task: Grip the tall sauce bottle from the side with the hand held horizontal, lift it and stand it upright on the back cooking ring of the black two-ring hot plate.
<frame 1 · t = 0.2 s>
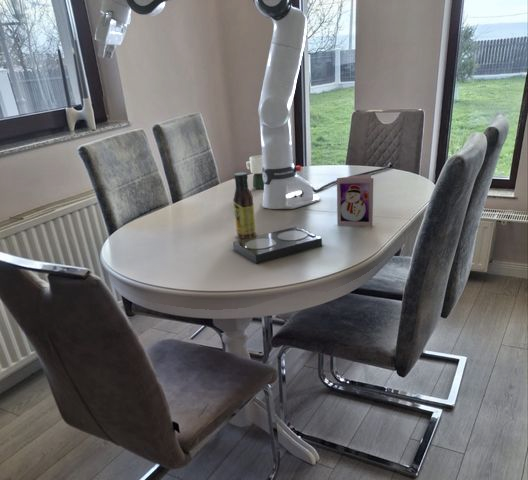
hand: (104, 57, 171), 54 cm above the table, tool tilted 30°, fingers open, 8 cm apart
character mug: (260, 188, 224), on the table
sauce bottle: (246, 237, 164), on the table
greeting card: (356, 224, 167), on the table
hot plate: (277, 248, 152), on the table
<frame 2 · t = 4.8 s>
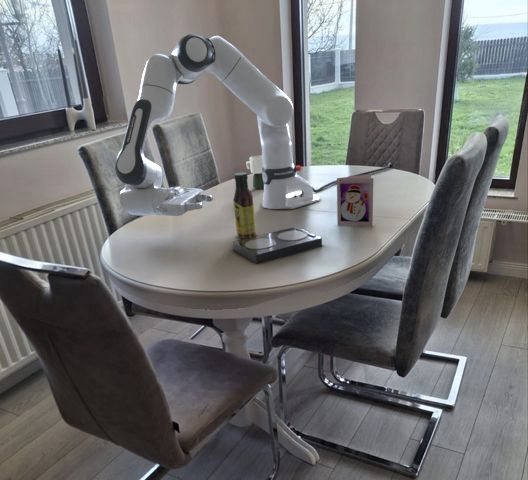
hand: (206, 202, 162), 11 cm above the table, tool horizontal, fingers open, 8 cm apart
nothing on the table moved.
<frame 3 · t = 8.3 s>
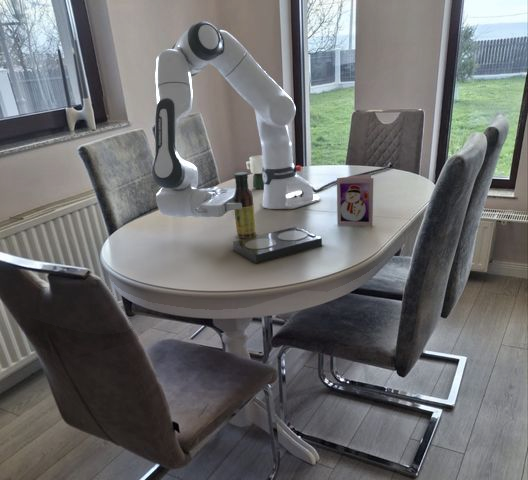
hand: (246, 202, 158), 11 cm above the table, tool horizontal, fingers closed on sauce bottle, 6 cm apart
sauce bottle: (246, 237, 164), on the table, touching gripper
everything else where it was.
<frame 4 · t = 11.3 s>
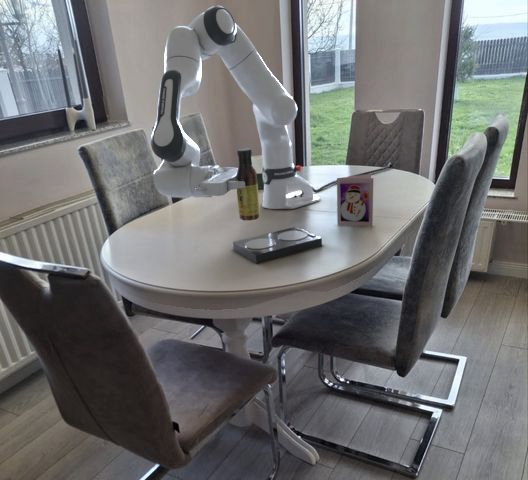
hand: (249, 181, 147), 19 cm above the table, tool horizontal, fingers closed on sauce bottle, 6 cm apart
sauce bottle: (249, 219, 153), point 8 cm above the table, touching gripper
everything else where it was.
when the fingers open (14 cm above the table, at t = 14.5 s): sauce bottle stays where it is, resting on hot plate.
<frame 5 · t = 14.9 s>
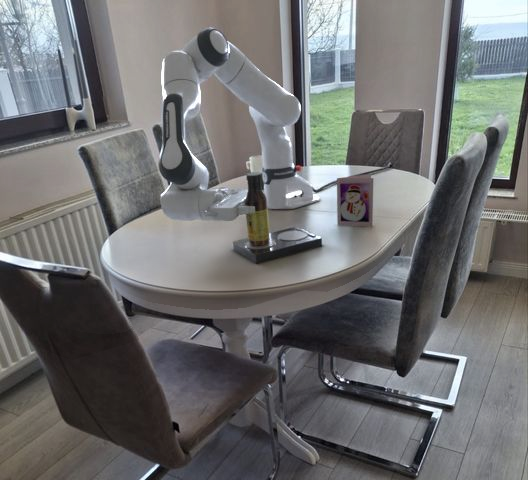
hand: (260, 204, 143), 14 cm above the table, tool horizontal, fingers open, 8 cm apart
sauce bottle: (259, 244, 149), point 3 cm above the table, touching hot plate
everything else where it was.
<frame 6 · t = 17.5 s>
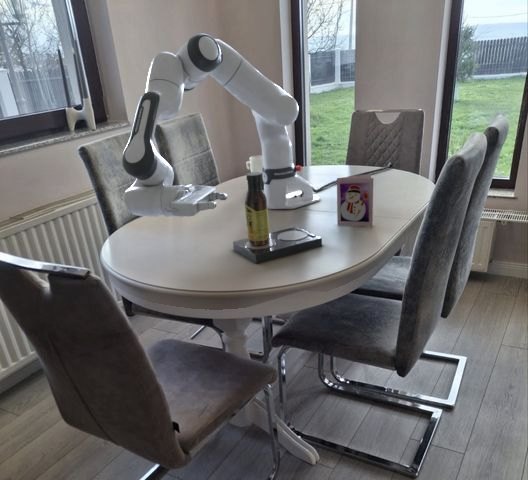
hand: (221, 200, 145), 15 cm above the table, tool horizontal, fingers open, 8 cm apart
nothing on the table moved.
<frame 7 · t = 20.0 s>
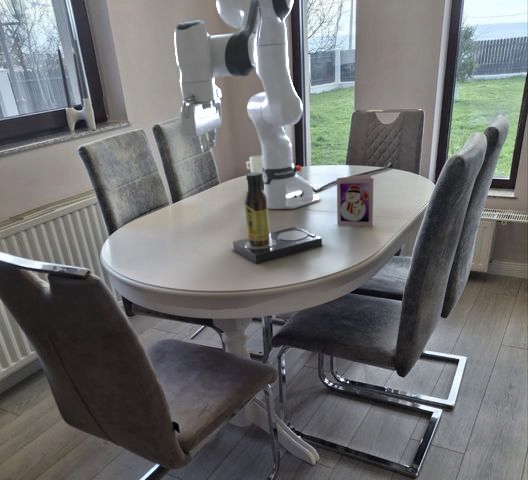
hand: (206, 150, 139), 29 cm above the table, tool pointing down, fingers open, 8 cm apart
nothing on the table moved.
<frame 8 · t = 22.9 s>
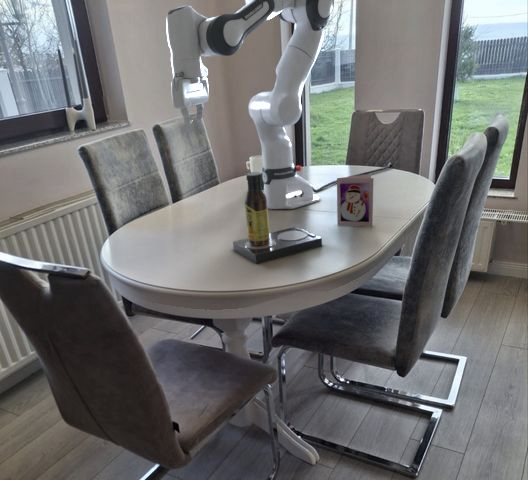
hand: (194, 121, 158), 34 cm above the table, tool pointing down, fingers open, 8 cm apart
nothing on the table moved.
at the end: sauce bottle inside the target area on the hot plate (0.2 cm from its centre), point 2.5 cm above the hot plate's base; sauce bottle tilted 0°; the gripper is holding nothing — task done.
